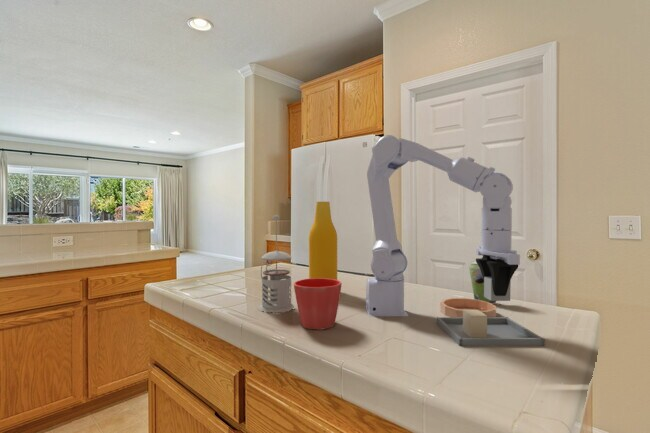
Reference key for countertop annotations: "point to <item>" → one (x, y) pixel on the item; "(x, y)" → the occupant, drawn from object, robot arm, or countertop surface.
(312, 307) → the flower pot
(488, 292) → the grey sharp-edged cube
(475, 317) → the cream wooden cube
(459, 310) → the bowl
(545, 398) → the countertop surface
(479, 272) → the beverage can
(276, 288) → the french press
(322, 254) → the beer bottle
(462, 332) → the tray
